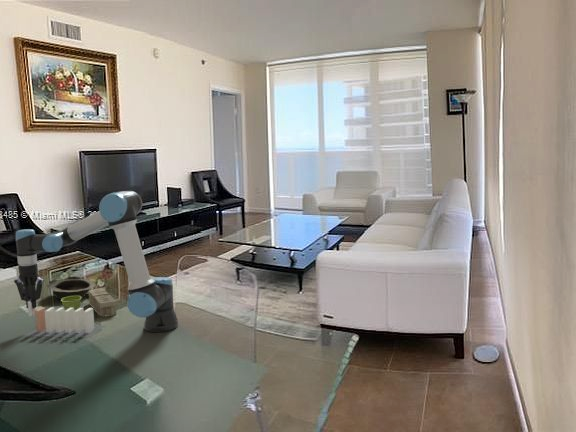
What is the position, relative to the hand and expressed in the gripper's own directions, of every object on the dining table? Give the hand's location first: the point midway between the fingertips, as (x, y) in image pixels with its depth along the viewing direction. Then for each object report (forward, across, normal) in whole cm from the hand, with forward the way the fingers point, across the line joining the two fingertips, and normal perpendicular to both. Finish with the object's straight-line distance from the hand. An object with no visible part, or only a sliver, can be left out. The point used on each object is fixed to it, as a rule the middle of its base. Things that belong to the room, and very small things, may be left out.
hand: (32, 315), depth 213 cm
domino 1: (+7, -4, 0) cm, 8 cm away
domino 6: (+7, -26, 0) cm, 27 cm away
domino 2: (+7, -8, 0) cm, 11 cm away
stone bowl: (+8, +10, -53) cm, 54 cm away
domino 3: (+7, -13, 0) cm, 15 cm away
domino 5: (+7, -22, 0) cm, 23 cm away
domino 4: (+7, -17, 0) cm, 19 cm away
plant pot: (+8, -7, -22) cm, 24 cm away
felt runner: (+8, -15, 0) cm, 17 cm away
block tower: (+8, -18, -31) cm, 37 cm away
